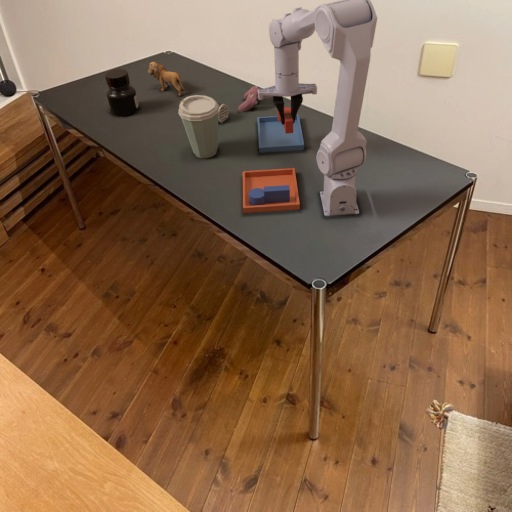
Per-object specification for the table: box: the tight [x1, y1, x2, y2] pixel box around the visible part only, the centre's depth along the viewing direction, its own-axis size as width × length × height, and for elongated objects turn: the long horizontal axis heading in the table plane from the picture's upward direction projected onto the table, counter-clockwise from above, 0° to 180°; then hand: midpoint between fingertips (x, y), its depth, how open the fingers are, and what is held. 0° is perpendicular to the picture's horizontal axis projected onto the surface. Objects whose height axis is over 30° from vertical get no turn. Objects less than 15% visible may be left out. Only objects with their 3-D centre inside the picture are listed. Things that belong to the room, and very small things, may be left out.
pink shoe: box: [237, 85, 262, 112], centre depth 157 cm, size 10×5×7 cm, turn 168°
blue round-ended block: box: [249, 185, 290, 206], centre depth 120 cm, size 10×4×4 cm, turn 91°
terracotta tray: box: [242, 167, 301, 214], centre depth 124 cm, size 15×13×2 cm
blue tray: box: [256, 113, 305, 154], centre depth 143 cm, size 17×12×2 cm
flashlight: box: [178, 95, 230, 124], centre depth 154 cm, size 15×5×5 cm, turn 58°
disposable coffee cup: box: [177, 94, 219, 159], centre depth 135 cm, size 11×11×15 cm
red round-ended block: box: [277, 106, 293, 134], centre depth 132 cm, size 10×4×4 cm, turn 6°
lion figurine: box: [146, 61, 190, 97], centre depth 168 cm, size 15×5×9 cm, turn 62°
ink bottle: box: [104, 68, 140, 117], centre depth 158 cm, size 10×9×12 cm
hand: (287, 122), depth 131 cm, fingers closed on red round-ended block, 2 cm apart
